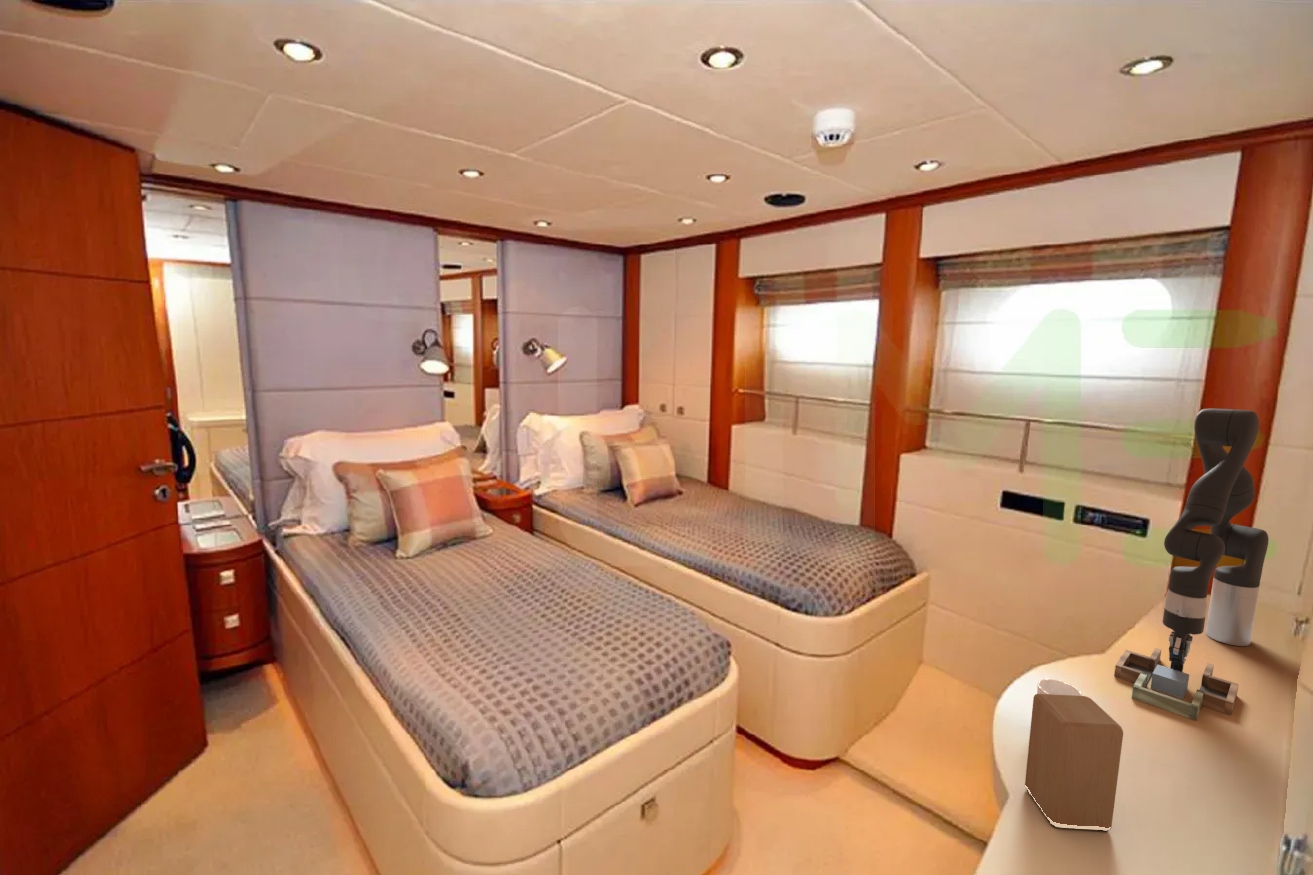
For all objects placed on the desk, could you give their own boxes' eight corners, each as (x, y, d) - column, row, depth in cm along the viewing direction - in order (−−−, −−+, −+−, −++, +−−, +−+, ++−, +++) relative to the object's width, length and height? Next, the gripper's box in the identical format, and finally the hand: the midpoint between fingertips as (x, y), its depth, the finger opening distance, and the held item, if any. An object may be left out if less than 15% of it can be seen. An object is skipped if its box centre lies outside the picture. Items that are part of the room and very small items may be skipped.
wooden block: (1077, 791, 110) (1089, 693, 107) (1113, 834, 100) (1127, 728, 97) (1022, 787, 111) (1031, 690, 108) (1051, 830, 101) (1063, 725, 98)
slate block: (1155, 679, 147) (1157, 664, 146) (1187, 689, 142) (1189, 674, 142) (1150, 688, 143) (1152, 673, 142) (1183, 699, 138) (1185, 683, 138)
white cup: (1070, 724, 129) (1074, 682, 128) (1082, 746, 122) (1087, 703, 121) (1029, 717, 132) (1033, 676, 130) (1039, 738, 125) (1043, 695, 123)
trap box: (1130, 650, 160) (1132, 640, 160) (1239, 683, 144) (1241, 672, 144) (1105, 688, 143) (1107, 677, 142) (1226, 731, 127) (1228, 718, 126)
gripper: (1169, 597, 150) (1161, 660, 152) (1159, 612, 141) (1150, 678, 144) (1209, 607, 144) (1199, 671, 147) (1201, 623, 136) (1191, 692, 138)
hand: (1175, 675), depth 145 cm, fingers closed
